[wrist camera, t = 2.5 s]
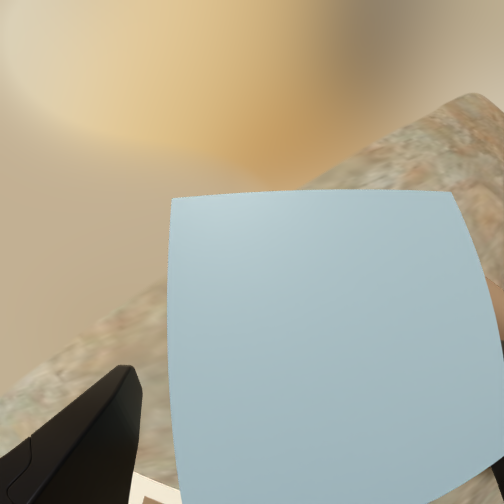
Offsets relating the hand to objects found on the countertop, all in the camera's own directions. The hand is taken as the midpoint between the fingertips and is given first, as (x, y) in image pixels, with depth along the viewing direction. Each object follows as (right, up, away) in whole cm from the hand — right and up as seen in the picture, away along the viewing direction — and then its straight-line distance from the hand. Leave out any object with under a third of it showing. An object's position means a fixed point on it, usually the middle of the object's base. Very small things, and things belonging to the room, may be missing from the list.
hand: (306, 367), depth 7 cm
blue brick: (0, -4, +7) cm, 8 cm away
